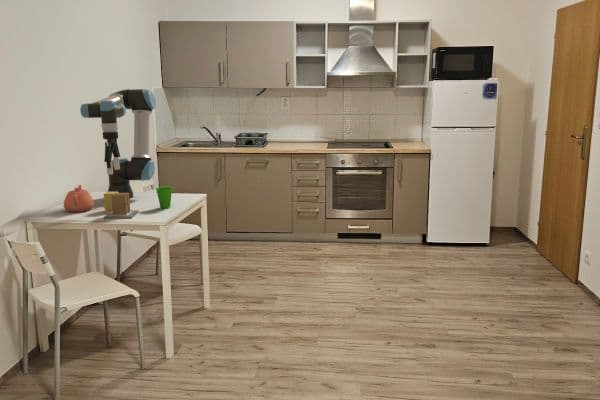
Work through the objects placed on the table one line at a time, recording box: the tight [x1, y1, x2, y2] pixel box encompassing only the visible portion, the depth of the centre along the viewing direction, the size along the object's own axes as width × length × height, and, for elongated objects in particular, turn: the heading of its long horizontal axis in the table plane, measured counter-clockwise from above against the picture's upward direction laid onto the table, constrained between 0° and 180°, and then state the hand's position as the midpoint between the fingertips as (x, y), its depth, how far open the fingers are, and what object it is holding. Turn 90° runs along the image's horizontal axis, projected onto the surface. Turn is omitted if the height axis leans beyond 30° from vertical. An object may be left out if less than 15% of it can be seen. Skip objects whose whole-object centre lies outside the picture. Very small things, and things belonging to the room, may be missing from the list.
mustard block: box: [103, 191, 118, 213], centre depth 293 cm, size 6×6×10 cm
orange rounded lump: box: [63, 184, 95, 213], centre depth 296 cm, size 22×15×12 cm
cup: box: [155, 186, 174, 210], centre depth 300 cm, size 9×9×11 cm
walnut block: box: [111, 193, 131, 215], centre depth 283 cm, size 7×7×10 cm
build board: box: [103, 209, 140, 220], centre depth 284 cm, size 14×14×1 cm
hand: (113, 171), depth 286 cm, fingers open, 13 cm apart
